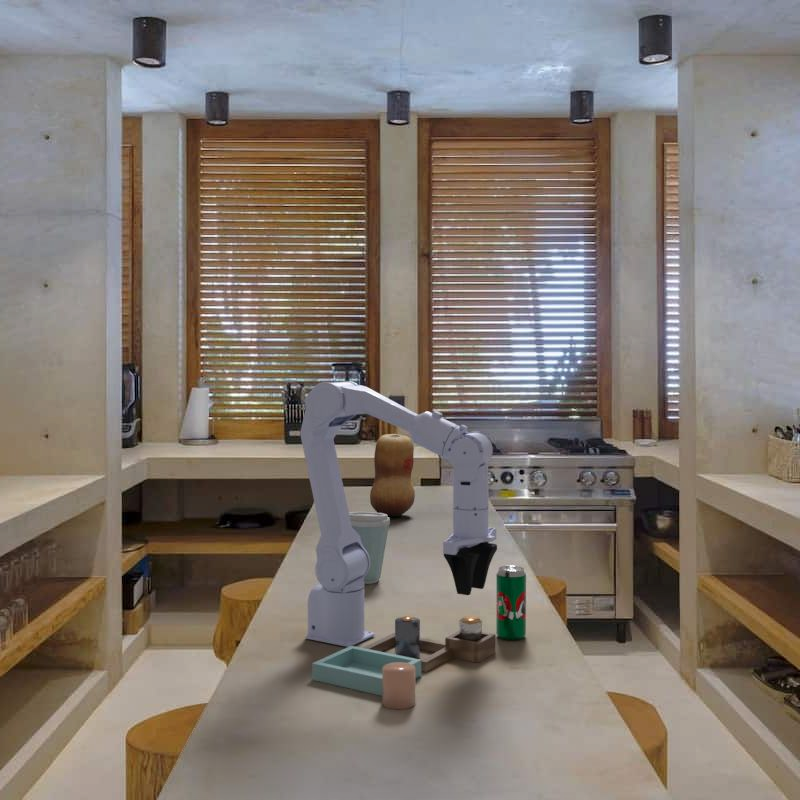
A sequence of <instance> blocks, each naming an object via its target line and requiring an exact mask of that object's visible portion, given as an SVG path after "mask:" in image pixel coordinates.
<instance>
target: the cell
mask: <svg viewBox="0 0 800 800" xmlns="http://www.w3.org/2000/svg"><path fill="white" fill-rule="evenodd" d="M394 633H395V645H394V648H395V649H394V654H395V655H400V656H405V657H410V658H415V659H420V658H421V649H420V638H421V620H420V618H418V617H413V616H409V615H407V616H401V617H397V618H396V619H395V620H394Z"/></svg>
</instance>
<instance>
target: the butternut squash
mask: <svg viewBox="0 0 800 800" xmlns="http://www.w3.org/2000/svg"><path fill="white" fill-rule="evenodd" d="M374 448H375V449H374V455H373V456H374V457H373V461H374V462H373V463H374V480H373V483H372V485H371V489H370V493H369V499H370V501H369V502H370V505H371V507H372V508H373V510H374V511H375V512H376V513H383V514H387V515H388V516H391V517H390V518H393V517H400V516H402V515H404V514H405V513H407V511H409V510H410V509H411V508H412V506H413V505H414V503H415V495H416V491H415V487H414V484H413V481H412V471H413V467H414V463H415V462H414V453H415V452H414V450H415V447H414V442H413V441H412V439H411V437H409V436H406V435H403V434H402V435H401V434H397V433H392V434H391V433H388V434H387V433H386V434H383V435H381V436H380V437H379V438H378V439H377V441H376V444H375V447H374Z"/></svg>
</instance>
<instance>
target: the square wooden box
mask: <svg viewBox="0 0 800 800" xmlns="http://www.w3.org/2000/svg"><path fill="white" fill-rule="evenodd" d="M496 635H497V634H494V633H490V632H484V631H482V637H481V638H479V639H473V640H469V639H463V638H461V637H460V636H459V630H458V631H456V632H454V633H452V634H451V635H448V636H446V637H445V640H444V642H445V647H447V648H452V658H451V659H456V660H457V659H458V660H462V661H463V660H464V661H468V662H471V663H472V662H473V663H477V664H478V663H480V662H482V661H484V660H486V659H487V658H489V657H490V656H493V655H494V654H495V653H496Z"/></svg>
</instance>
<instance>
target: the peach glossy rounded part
mask: <svg viewBox="0 0 800 800" xmlns="http://www.w3.org/2000/svg"><path fill="white" fill-rule="evenodd" d="M382 689H383V696H382V706H384V707H385V708H387V709H392V710H406V709H409V708H412V707H414V706H415V705H416V679H415V666H414V665H412V664H410V663H404V662H394V663H388V664H386V665H384V666H383V667H382Z"/></svg>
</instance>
